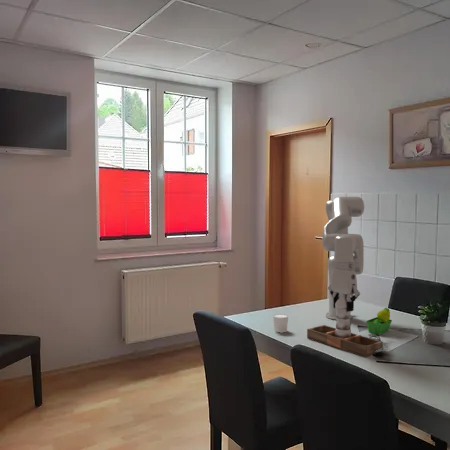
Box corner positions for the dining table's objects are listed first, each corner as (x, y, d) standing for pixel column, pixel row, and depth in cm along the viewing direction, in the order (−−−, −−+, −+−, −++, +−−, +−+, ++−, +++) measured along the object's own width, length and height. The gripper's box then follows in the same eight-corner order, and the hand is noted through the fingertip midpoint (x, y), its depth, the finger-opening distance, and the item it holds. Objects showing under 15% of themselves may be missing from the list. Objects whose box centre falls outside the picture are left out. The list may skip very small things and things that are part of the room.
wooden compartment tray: (323, 333, 205) (323, 323, 205) (382, 351, 181) (382, 340, 181) (306, 338, 199) (306, 328, 199) (364, 357, 174) (365, 346, 174)
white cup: (271, 329, 213) (271, 314, 213) (286, 328, 214) (286, 313, 213) (274, 333, 206) (274, 318, 206) (289, 332, 207) (289, 317, 207)
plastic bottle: (348, 343, 186) (349, 294, 184) (332, 340, 189) (333, 292, 188) (353, 339, 191) (354, 291, 190) (337, 336, 195) (338, 289, 193)
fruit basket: (376, 327, 215) (377, 303, 215) (395, 331, 209) (395, 306, 208) (364, 332, 207) (365, 307, 207) (383, 336, 201) (383, 311, 200)
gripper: (367, 267, 183) (366, 311, 184) (333, 262, 197) (333, 303, 198) (355, 269, 179) (354, 314, 180) (321, 264, 193) (321, 306, 194)
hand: (343, 308), depth 189 cm, fingers closed on plastic bottle, 6 cm apart
